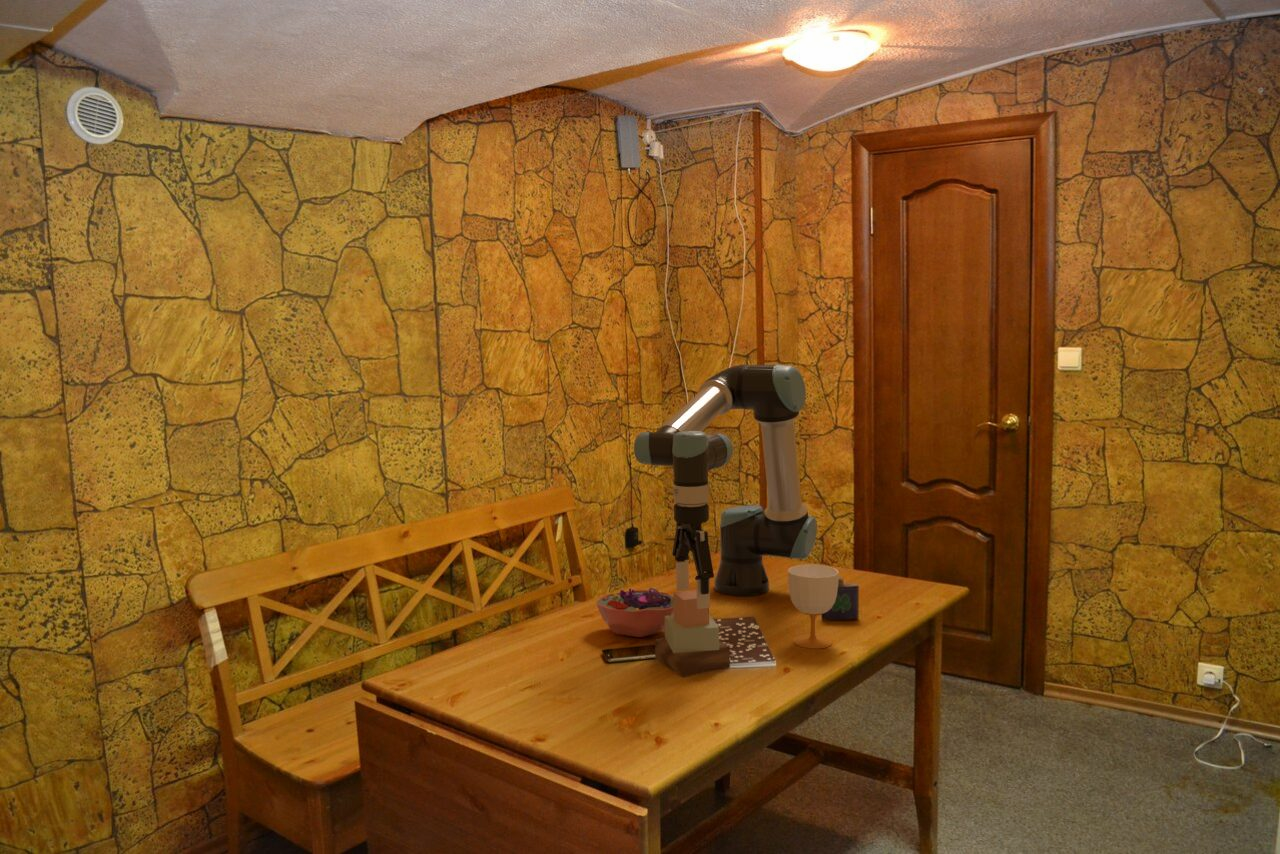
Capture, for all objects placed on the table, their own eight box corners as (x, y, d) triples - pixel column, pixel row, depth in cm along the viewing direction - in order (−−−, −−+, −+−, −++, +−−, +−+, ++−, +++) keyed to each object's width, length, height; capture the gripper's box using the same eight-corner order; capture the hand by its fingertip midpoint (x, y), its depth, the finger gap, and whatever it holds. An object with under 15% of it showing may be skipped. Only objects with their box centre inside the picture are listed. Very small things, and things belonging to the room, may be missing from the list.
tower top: (665, 637, 208) (664, 616, 207) (708, 634, 209) (708, 613, 209) (673, 653, 198) (673, 630, 198) (719, 649, 200) (719, 627, 199)
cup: (848, 641, 217) (848, 569, 215) (820, 654, 208) (821, 580, 207) (805, 630, 225) (805, 561, 223) (777, 643, 216) (777, 571, 215)
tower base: (655, 661, 207) (654, 639, 207) (701, 651, 213) (701, 630, 212) (682, 679, 197) (681, 656, 196) (729, 668, 202) (729, 646, 202)
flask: (857, 617, 234) (857, 576, 233) (859, 621, 231) (860, 579, 230) (820, 617, 235) (820, 576, 233) (822, 621, 232) (822, 579, 230)
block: (673, 618, 205) (673, 592, 205) (698, 615, 207) (698, 589, 206) (683, 627, 200) (683, 600, 199) (709, 624, 201) (709, 597, 201)
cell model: (606, 620, 235) (605, 576, 234) (684, 624, 231) (683, 580, 230) (589, 643, 219) (588, 596, 217) (672, 648, 215) (672, 600, 213)
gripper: (657, 494, 211) (659, 584, 214) (693, 516, 188) (695, 618, 190) (688, 491, 213) (690, 581, 216) (728, 513, 190) (729, 614, 192)
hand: (692, 598), depth 203 cm, fingers open, 13 cm apart
